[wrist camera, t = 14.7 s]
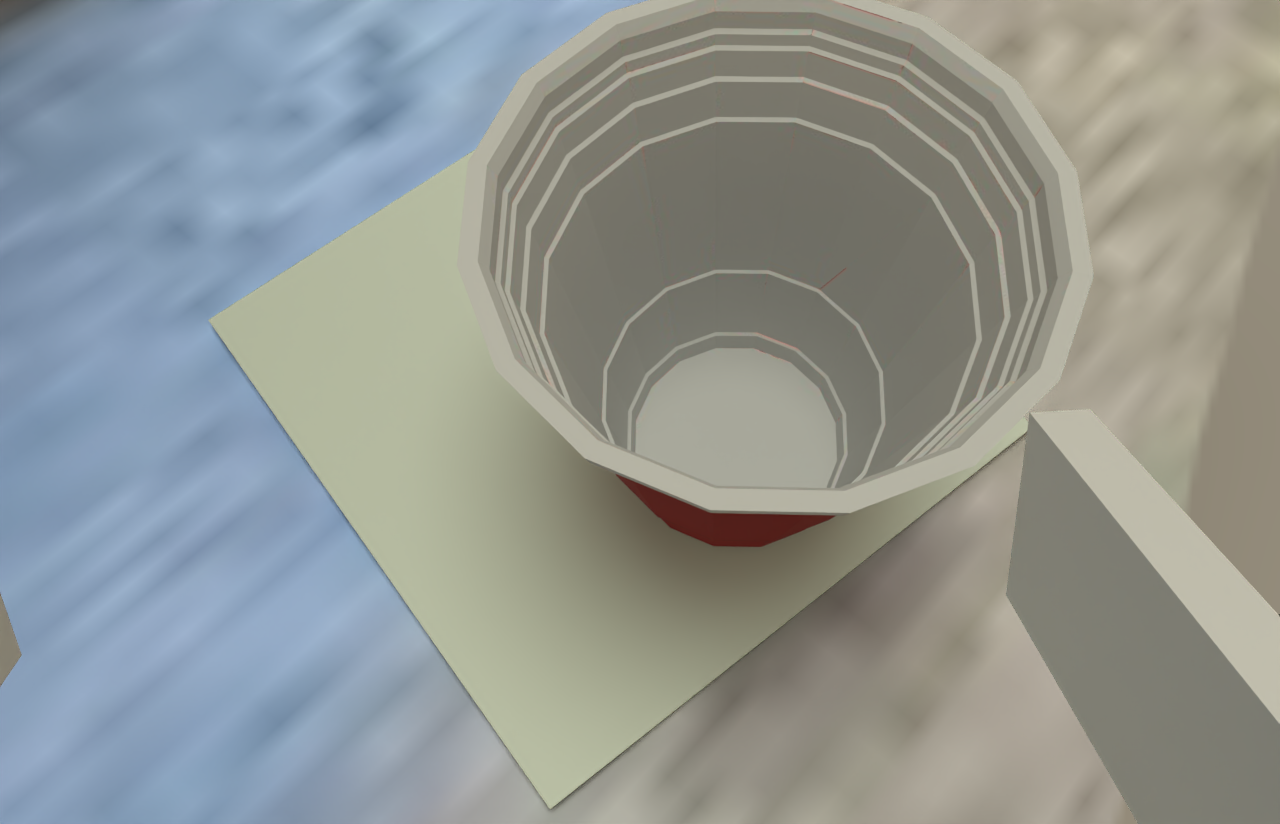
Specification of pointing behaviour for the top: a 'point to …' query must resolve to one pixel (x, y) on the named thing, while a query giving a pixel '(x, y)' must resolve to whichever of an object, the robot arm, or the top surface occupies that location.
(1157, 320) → the top surface
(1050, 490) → the robot arm
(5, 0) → the top surface
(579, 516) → the mat
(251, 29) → the top surface
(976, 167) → the plastic cup
